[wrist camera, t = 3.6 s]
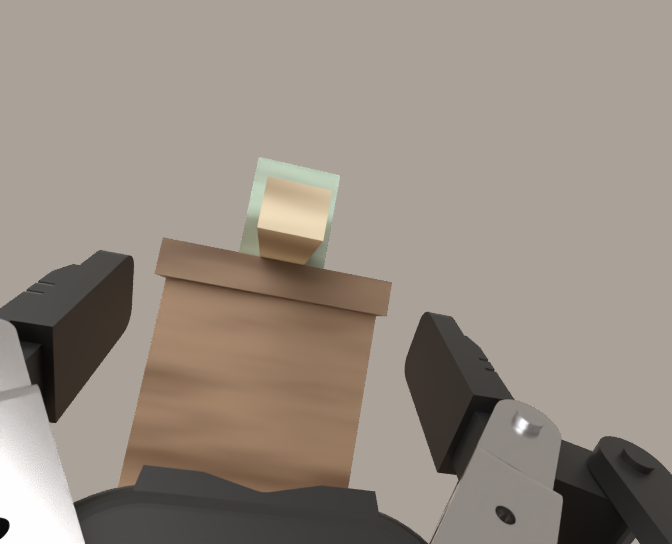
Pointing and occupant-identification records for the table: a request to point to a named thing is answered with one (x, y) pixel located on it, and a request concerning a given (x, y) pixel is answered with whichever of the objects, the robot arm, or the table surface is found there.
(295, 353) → the tool tower
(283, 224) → the mint and tan block
